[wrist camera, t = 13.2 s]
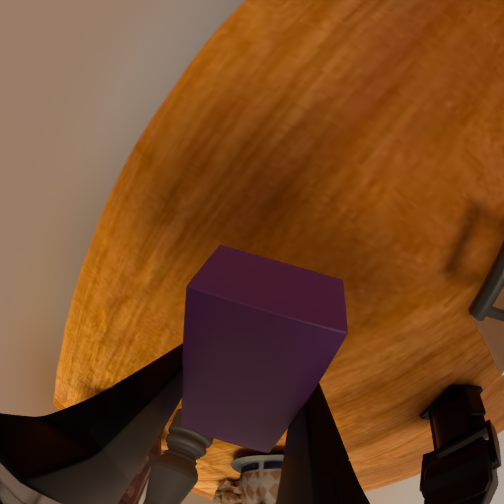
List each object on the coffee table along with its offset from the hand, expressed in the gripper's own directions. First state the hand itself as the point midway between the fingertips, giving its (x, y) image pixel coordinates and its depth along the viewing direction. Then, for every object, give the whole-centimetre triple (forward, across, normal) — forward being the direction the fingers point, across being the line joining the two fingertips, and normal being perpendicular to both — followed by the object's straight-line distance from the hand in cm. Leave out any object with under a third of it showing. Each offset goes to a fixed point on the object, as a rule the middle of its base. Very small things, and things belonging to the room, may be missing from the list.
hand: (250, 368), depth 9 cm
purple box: (+1, 0, 0) cm, 1 cm away
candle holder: (+12, +5, +30) cm, 33 cm away
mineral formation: (+12, -7, +62) cm, 63 cm away
